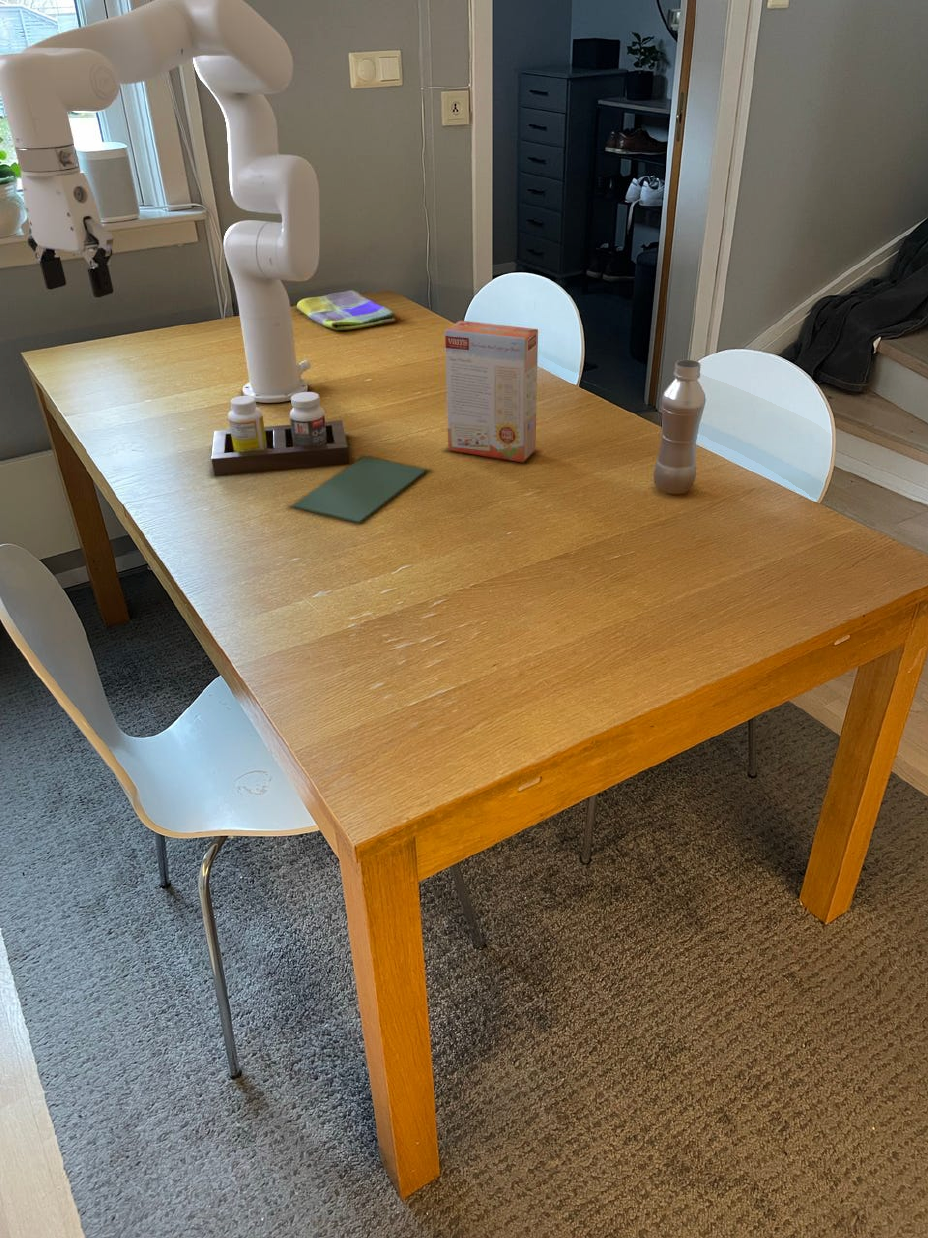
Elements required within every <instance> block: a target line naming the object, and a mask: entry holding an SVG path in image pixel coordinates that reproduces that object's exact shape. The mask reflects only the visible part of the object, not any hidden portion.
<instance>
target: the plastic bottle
mask: <svg viewBox="0 0 928 1238" xmlns="http://www.w3.org/2000/svg"><path fill="white" fill-rule="evenodd" d="M701 365H702V364H701V363H700V362H699V361H697V360H695V359H680V360H677V361H676V362H675V364H674V371H673V375H672V376H673V378H674V379H673V381H671V383H669V385H668V386H667V387H666V389H665V390H664V392H663V394H662V396H661V416H662V417H661V418H662V419H661V440H660V445H659V451H658V456H657V459H656V462H655V465H654V469H653V484H654V485H655V486H656V488H657V490H659V491H660V492H662V493H665V494H672V495H678V494H684V493H687V492H689V491H690V489H691V488H692V487H693V486H694V484H695V482H696V478H697V464H696V453H697V452H696V451H697V449H696V448H697V440H698V434H699V430H700V429H699V428H700V424H701V420H702V418H703V414H704V409H705V408H706V407H705V405H706V402H707V401H706V400H707V399H706V394H705V392H704V390H703V387H702V385H701V383H700V382H699V381H698V380H699V379H700V377H701V368H702V367H701Z"/></svg>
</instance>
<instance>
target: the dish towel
mask: <svg viewBox="0 0 928 1238" xmlns="http://www.w3.org/2000/svg"><path fill="white" fill-rule="evenodd" d="M296 308H297V310H299V311H300V312H301V313H302V314H304V315H305V316H307V317H308V318H309V319H310V320H312V321H314V322H315V323H318V324H319V325H321V326H322V327H325V328H327V329H331V330H335V331H348V330H356V329H363V328H368V327H374V326H378V325H384V324H385V325H386V324H391V323H394V322H396V319H395V318H393V317H394V316H395V312H394V311H393V310H391V309H389V308H388V307H385V306H383V305H381V304H378V303H376V302H374V301H373V300H371V299H369V298H367V297H364V296H363V295H361V293H360V292H358V291H355V290H354V289H351V290H346V291H341V292H333V293H329V294H325V295H321V296H311V297H306V298H303V299H300V300H298V302H297V304H296Z"/></svg>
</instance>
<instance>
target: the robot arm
mask: <svg viewBox="0 0 928 1238" xmlns="http://www.w3.org/2000/svg"><path fill="white" fill-rule="evenodd" d="M191 60H193V61H192V62H193V65H194V69H195V71H196V73H197V75H198V77H199V79H200V80H201V82H202V83H203V84H204V85H205V87H206V88H207V89H208V91H210V93H211V94H212V95H213V97H214V98H215V100H216V102H217V103H218V105H219V106H220V108H221V111H222V113H223V116H224V119H225V122H226V133H227V144H228V145H227V147H228V166H229V167H228V168H229V169H228V170H229V172H228V173H229V187H230V188H229V189H230V193H231V198H232V200H233V202H234V204H235V205H236V206H237V207H238V208H240V209H241V210H244V211H248V212H253V213H259V214H273V215H281V220H282V221H281V222H275V221H267V220H255V219H251V220H250V219H248V220H247V219H246V220H240V221H238V222H234V223H233V224H232V225H231V226H230V227H229V228H228V229H227V231H226V232H225V235H224V238H223V252H224V257H225V260H226V264H227V267H228V269H229V272H230V275H231V279H232V282H233V285H234V290H235V294H236V300H237V306H238V315H239V320H240V326H241V333H242V340H243V347H244V353H245V361H246V367H247V374H248V381H249V382H246V384H245V385H243V387H242V394H243V395H242V396H251V397H254V398H255V402H256V403H262V404H275V403H284V402H285V403H286V402H289V401H290V402H291V397H292V396H293V395H295V394H297V393H301V392H308V390H309V387H308V383H307V381H305V379H303V378H302V375H303V373H305V372H307V371H309V370H311V367H312V365H311V362H310V361H309V360H307V359H305V360H302V361H301V362H299V363H298V360H297V351H296V344H295V336H294V327H293V318H292V311H291V310H292V309H291V303H290V302H291V301H290V298H289V295H288V292H287V289H286V288H285V286H284V284H283V282H282V281H287V282H288V281H289V282H305V281H308V280H310V279H311V278H312V277H313V276H314V275H315V274H316V272H317V269H318V266H319V263H320V251H321V250H320V247H321V245H320V244H321V236H320V235H321V226H320V225H321V223H320V220H321V217H320V213H321V212H320V210H321V208H320V207H321V205H320V204H321V203H320V185H319V180H318V177H317V174H316V171H315V169H314V167H313V166H312V164H311V163H310V162H309V161H308V160H307V159H305V158H304V157H302V156H298V155H294V154H284V153H283V154H281V153H280V150H279V138H278V137H279V136H278V123H277V119H276V115H275V113H274V110H273V108H272V107H271V105H270V103H269V101H268V100H267V98H266V96H265V95H275V94H278V93H282V92H283V91H285V90H286V89H287V88H288V87H289V86H290V85H291V82H292V79H293V75H294V61H293V55H292V53H291V50H290V48H289V46H288V44H287V42H286V41H285V39H284V38H283V37H282V36H281V34H280V33H279V32H278V31H277V30H276V29H275V28H274V27H273V26H272V25H271V24H270V23H269V22H268V21H267V20H266V19H264V18H263V17H262V16H261V15H260V14H259V13H258V12H257V11H256V10H255V9H254V8H253V7H252V6H250V5H249V4H248V3H247V2H246V1H244V0H152V1H150V2H148V3H145V4H143V5H141V6H139V7H136V8H135V9H132V10H130V11H127V12H125V13H123V14H121V15H117V16H112V17H109V18H105V19H102V20H99V21H96V22H93V23H90V24H87V25H84V26H80V27H77V28H73V29H70V30H65V31H63V32H60V33H57V34H54V35H51V36H49V37H47V38H45V39H43V40H41V41H37V42H36V43H34V44H32V45H29V46H27V47H25V48H24V49H23V50H21V52H16V53H15V52H14V53H5V54H4V53H3V54H1V55H0V97H1V100H2V105H3V108H4V111H5V117H6V120H7V123H8V127H9V131H10V136H11V138H12V142H13V147H14V151H15V154H16V158H17V163H18V167H19V170H20V177H21V188H22V193H23V200H24V206H25V211H26V215H27V219H26V220H25V221H23V223H21V224H20V229H21V231H22V234H23V235H24V236H25V238H26V240H27V244H28V246H29V247H30V248H31V250H32V251H33V252H34V257H35V259H36V260H37V261H39V266H40V269H41V273H42V277H43V280H44V283H45V288H46V289H47V290H55V289H58V288H61V287H64V286H66V285H67V280H66V276H65V272H64V271H65V270H64V267H63V263H62V259H61V256H58V255H57V253H58V251H61V252H67V253H75V254H76V253H77V254H78V253H79V254H81V256H82V257H83V258H84V261H85V262H86V263H87V265H88V266H89V267H87V268H86V269H87V274H88V278H89V282H90V287H91V292H92V295H93V297H94V298H102V297H104V296H108V295H111V294H113V293H114V286H113V283H112V278H111V273H110V268H109V265H111V258H112V255H113V254H114V253H113V244H114V236H113V234H112V233H111V232H110V231H109V230H107V229H106V228H104V227H103V226H104V225H103V221H102V218H101V216H100V211H99V208H98V205H97V202H96V198H95V196H94V193H93V190H92V187H91V184H90V183H89V179H88V178H87V175H86V173H85V171H83V170H81V167H80V162H79V156H78V153H77V149H76V144H75V141H74V136H73V132H72V127H71V122H70V118H69V114H70V113H72V112H73V113H83V114H84V113H85V114H87V113H88V114H90V113H91V114H93V113H95V114H96V113H100V112H103V111H106V110H108V109H109V108H110V107H112V106H113V105H114V103H115V102H116V100H117V99H118V97H119V93H120V86H121V85H130V84H131V85H133V84H138V83H143V82H147V81H153V80H155V79H158V78H159V77H161V76H163V75H165V74H167V73H168V72H171V71H173V70H174V69H175V68H177V67H179V66H181V65H183V64H185V63H188V61H191ZM92 252H94V253H95V254H94V255H93V254H92Z"/></svg>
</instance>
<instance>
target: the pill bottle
mask: <svg viewBox="0 0 928 1238" xmlns="http://www.w3.org/2000/svg"><path fill="white" fill-rule="evenodd" d="M290 402H291V406H292V407H293V408H292V409H291V410H290V411H289V420H290V425H291V429H292V438H293V445H292V447H301V446H313V445H324V444H328V442H327V437H326V427H325V422H326V419H325V412H324V409H323V408H322V407H321V406H320V404H321V399H320V395H319V394H318V393H317V392H314V391H307V392H301V393H297V394H295V395H293V396H292V397H291V400H290Z"/></svg>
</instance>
